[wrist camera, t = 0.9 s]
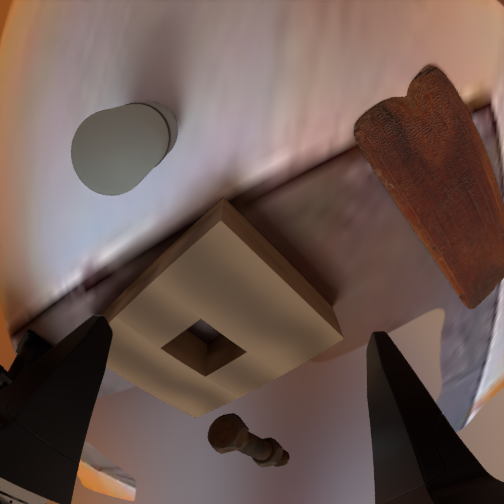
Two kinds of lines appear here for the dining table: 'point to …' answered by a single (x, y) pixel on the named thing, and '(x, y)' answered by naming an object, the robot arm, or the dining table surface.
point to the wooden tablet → (440, 180)
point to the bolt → (245, 441)
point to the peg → (122, 146)
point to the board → (217, 317)
